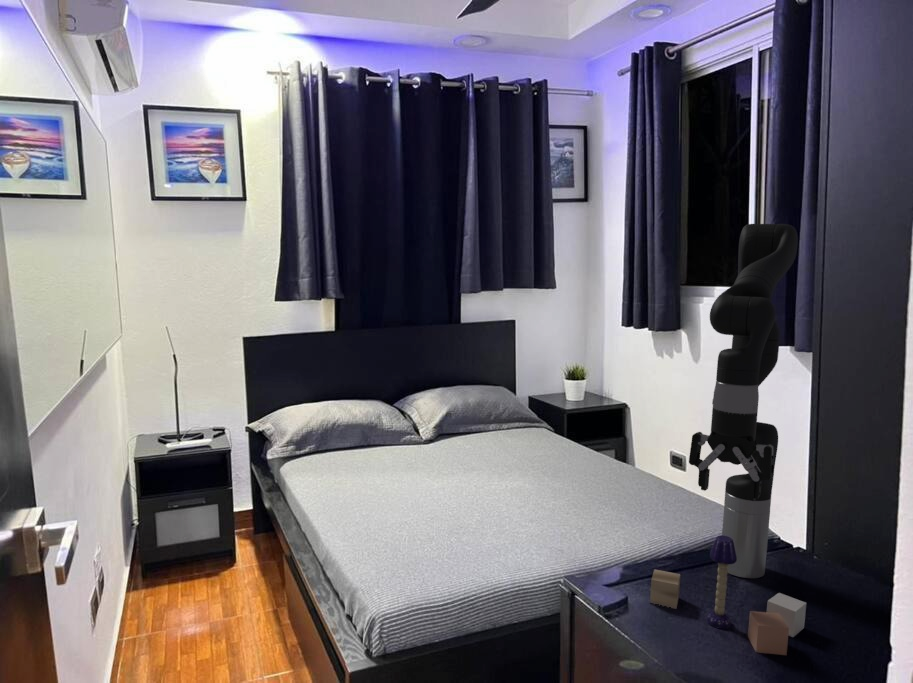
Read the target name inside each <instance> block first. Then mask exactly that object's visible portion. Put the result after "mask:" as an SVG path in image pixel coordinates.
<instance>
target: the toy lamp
mask: <svg viewBox="0 0 913 683" xmlns="http://www.w3.org/2000/svg"><path fill="white" fill-rule="evenodd" d="M709 558H710V560H711V561H714V562H715V563H717V565H718V568H717V576H716V580H717V583H716V591H715V600H714V602H715V603H714V604H715V606H714V610H713V611H711V612H710V613H709V614H708V615H707V618H706V621H707V623H708V624H709V625H711V627H714V628H716V627H718V628H717V629H723V630H724V629H729V628H731V626H732V621H731V619H730V617H729V615H728V614H727V613H725V611H726V609H725V606H726V598H727V592H726V591H727V587H728V586H727V582H728V576H727V575H728V574H729V573H728V569H727V567H728V564H734V563H735V562H736V561H737V557H736V552H735V547H734V542H733V540H732V538H730V537H728V536H722V534H721V535H717V536H716V537H715V539H714V541H713V544H712V547H711V550H710V552H709Z"/></svg>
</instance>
